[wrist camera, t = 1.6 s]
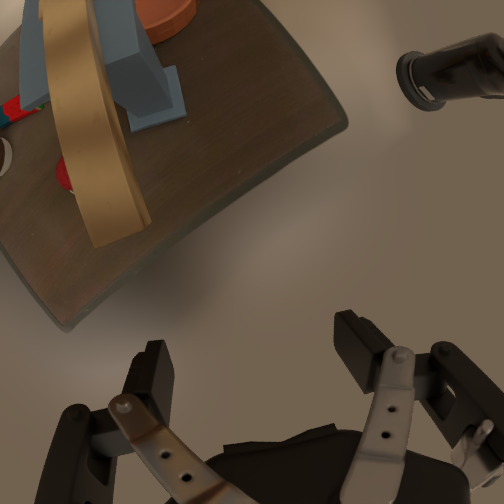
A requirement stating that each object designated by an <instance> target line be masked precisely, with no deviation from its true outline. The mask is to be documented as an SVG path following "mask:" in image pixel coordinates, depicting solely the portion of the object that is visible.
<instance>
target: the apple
mask: <svg viewBox="0 0 504 504" xmlns="http://www.w3.org/2000/svg"><path fill="white" fill-rule="evenodd" d="M56 178H57V180H58V182H59V184H60V185H61V186H62V187H63V188H65V189H67V190H69V191H71V192H72V193H73V194H74V191H73V188H72V185H71V182H70V178H69V175H68V172H67V168H66V165H65V161H64V157H62V158H61V159H60V160H59V162H58V164H57V168H56Z"/></svg>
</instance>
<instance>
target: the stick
mask: <svg viewBox="0 0 504 504" xmlns="http://www.w3.org/2000/svg"><path fill="white" fill-rule="evenodd" d="M39 20H40V21H42V22H43V37H44V51H45V62H46V71H47V79H48V86H49V92H50V98H51V104H52V109H53V115H54V120H55V124H56V129H57V133H58V138H59V142H60V146H61V150H62V154H63V157H64V161H65V165H66V168H67V172H68V175H69V178H70V182H71V185H72V188H73V191H74V194H75V197H76V200H77V203H78V206H79V209H80V212H81V215H82V217H83V220H84V223H85V225H86V228H87V231H88V233H89V236H90V238H91V241H92V243H93V246H94V248H95V249H97V248H100V247H102V246H105V245H107V244H109V243H112V242H114V241H117V240H119V239H122V238H124V237H127V236H129V235H132V234H134V233H137V232H139V231H142V230H144V229H145V228H146V227H147V226H148V225H149V224H150V223H151V219H150V216H149V213H148V211H147V208H146V205H145V202H144V199H143V197H142V194H141V191H140V188H139V185H138V182H137V179H136V176H135V173H134V170H133V167H132V164H131V161H130V157H129V154H128V151H127V148H126V144H125V141H124V138H123V134H122V131H121V127H120V124H119V120H118V117H117V113H116V109H115V105H114V101H113V98H112V94H111V90H110V85H109V81H108V77H107V72H106V68H105V63H104V59H103V54H102V49H101V44H100V38H99V33H98V27H97V21H96V15H95V8H94V1H93V0H39Z"/></svg>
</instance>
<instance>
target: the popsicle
mask: <svg viewBox="0 0 504 504" xmlns="http://www.w3.org/2000/svg"><path fill="white" fill-rule="evenodd" d="M43 108H44V104H42V105H40V106H39V107H37V108H35V109H34V110H32V111H30V112H29V111H25V110H21V107H20V94H19V95H18V96H16V97H15V98H13V99H12V100H10V101H8V102H7V103H5V104H4V105H2V106H1V107H0V128H4V127H6V126H8V125H10V124H12V123H14V122H16V121H18V120H20V119H22V118H24V117H26V116H28V115H31V114H33V113H35V112H37V111H39V110H42V109H43Z"/></svg>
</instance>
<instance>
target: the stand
mask: <svg viewBox="0 0 504 504" xmlns="http://www.w3.org/2000/svg"><path fill="white" fill-rule="evenodd" d="M93 1H94V8H95V15H96V21H97V27H98V33H99V38H100V44H101V49H102V54H103V59H104V63H105V68H106V72H107V77H108V81H109V85H110V90H111V94H112V98H113V101H115V102H116V103H117V104H119V105H120V106H122V107H123V108H125V109H126V110H127V115H128V120H129V124H130V129H131V132H133V133H135V132H137V131H140V130H143V129H146V128H149V127H152V126H156V125H159V124H162V123H165V122H169V121H172V120H175V119H179V118H182V117H186V116H187V113H186V108H185V104H184V100H183V95H182V91H181V86H180V82H179V77H178V73H177V68H176V65H173V66H169V67H166V68H162V65H161V63H160V61H159V59H158V57H157V55H156V53H155V51H154V48H153V46H152V44H151V42H150V40H149V38H148V36H147V33H146V31H145V29H144V27H143V25H142V23H141V21H140V19H139V16H138V14H137V12H136V5H135V0H93ZM19 88H20V107H21V110H25V111H29V112H30V111H32V110H34V109H35V108H37V107H39V106H40V105H42V104H44V103H45V102H47V101H49V100H51V98H50V92H49V86H48V79H47V71H46V62H45V51H44V37H43V22H42V21H40V20H39V0H25V5H24V11H23V19H22V27H21V38H20V56H19Z"/></svg>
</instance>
